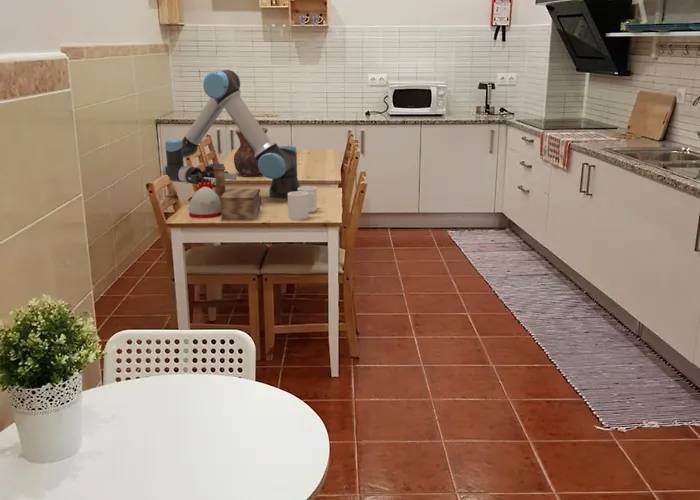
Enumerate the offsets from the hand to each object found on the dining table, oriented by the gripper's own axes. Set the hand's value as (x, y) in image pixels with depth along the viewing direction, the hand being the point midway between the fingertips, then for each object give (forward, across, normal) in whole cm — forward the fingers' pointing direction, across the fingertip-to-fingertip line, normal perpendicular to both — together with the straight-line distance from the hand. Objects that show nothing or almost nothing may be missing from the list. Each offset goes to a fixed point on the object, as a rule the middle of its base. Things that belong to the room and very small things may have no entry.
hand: (225, 179), depth 307 cm
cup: (+45, +4, -11) cm, 47 cm away
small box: (-36, -30, -11) cm, 48 cm away
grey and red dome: (+7, +20, -11) cm, 24 cm away
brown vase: (-40, -65, -11) cm, 77 cm away
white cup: (+40, -6, -11) cm, 42 cm away
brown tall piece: (-4, 0, -11) cm, 12 cm away
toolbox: (+16, +7, -11) cm, 21 cm away
